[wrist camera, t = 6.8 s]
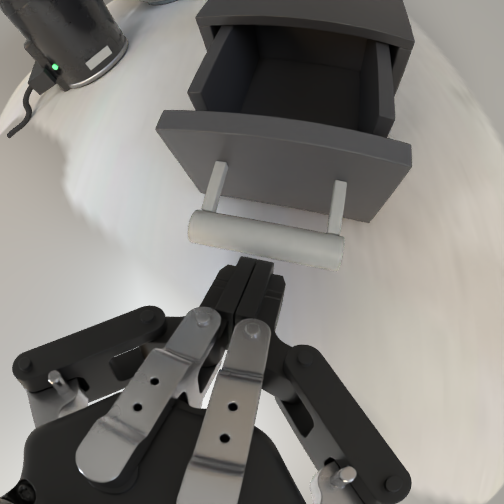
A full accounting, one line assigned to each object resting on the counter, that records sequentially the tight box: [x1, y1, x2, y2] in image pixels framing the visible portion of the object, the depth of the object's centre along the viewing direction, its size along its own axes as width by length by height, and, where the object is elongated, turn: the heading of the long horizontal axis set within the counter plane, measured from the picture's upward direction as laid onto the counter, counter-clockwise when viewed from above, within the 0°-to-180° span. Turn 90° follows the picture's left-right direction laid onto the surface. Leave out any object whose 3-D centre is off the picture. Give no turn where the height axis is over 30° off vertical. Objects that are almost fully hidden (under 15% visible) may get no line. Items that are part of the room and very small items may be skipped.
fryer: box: [196, 0, 415, 96], centre depth 18 cm, size 15×13×10 cm
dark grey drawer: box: [156, 25, 412, 272], centre depth 16 cm, size 18×11×8 cm, turn 167°
